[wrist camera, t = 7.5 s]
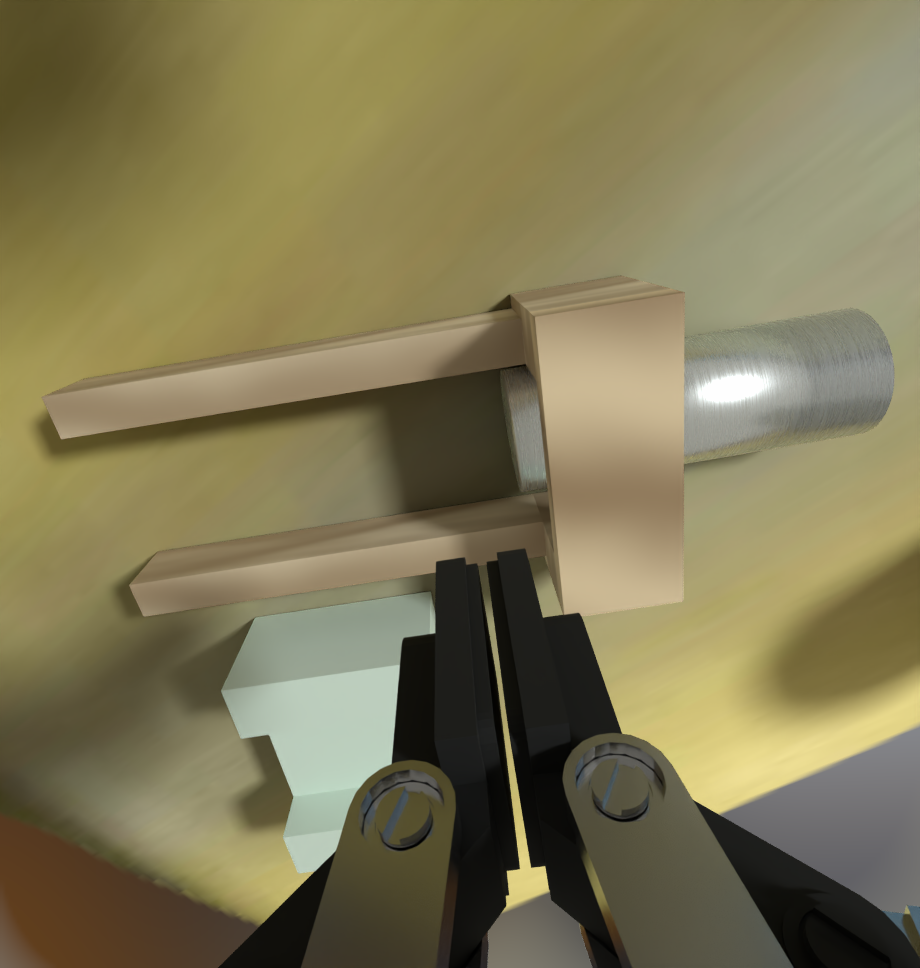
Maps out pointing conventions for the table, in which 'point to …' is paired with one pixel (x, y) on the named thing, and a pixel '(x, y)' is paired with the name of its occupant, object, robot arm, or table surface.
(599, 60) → the table surface
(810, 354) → the axle
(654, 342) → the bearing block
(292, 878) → the table surface
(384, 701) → the v block
